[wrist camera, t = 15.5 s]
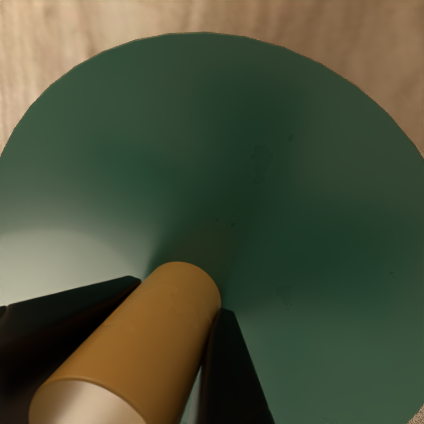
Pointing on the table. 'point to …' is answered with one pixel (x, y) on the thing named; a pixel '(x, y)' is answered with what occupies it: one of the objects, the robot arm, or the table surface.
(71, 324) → the robot arm
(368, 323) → the lid
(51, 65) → the table surface
